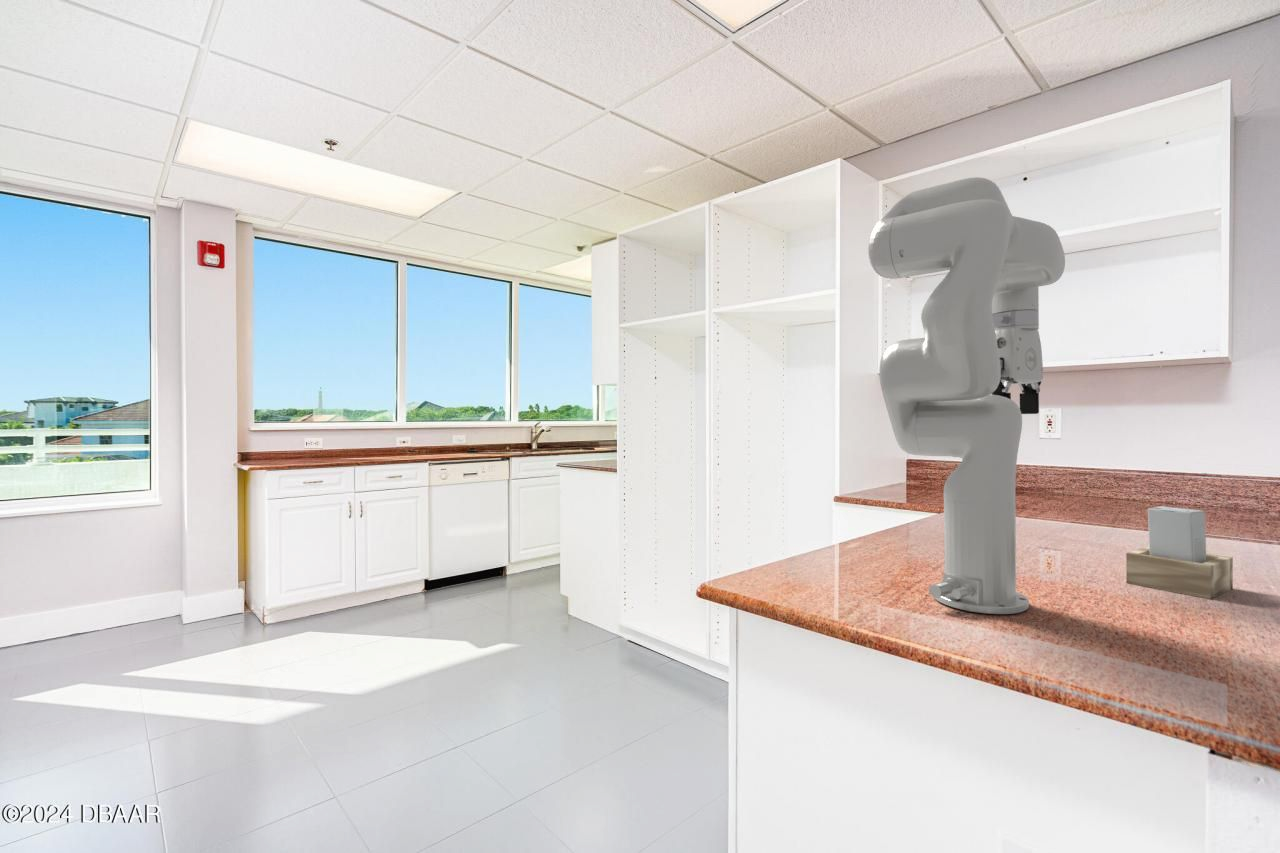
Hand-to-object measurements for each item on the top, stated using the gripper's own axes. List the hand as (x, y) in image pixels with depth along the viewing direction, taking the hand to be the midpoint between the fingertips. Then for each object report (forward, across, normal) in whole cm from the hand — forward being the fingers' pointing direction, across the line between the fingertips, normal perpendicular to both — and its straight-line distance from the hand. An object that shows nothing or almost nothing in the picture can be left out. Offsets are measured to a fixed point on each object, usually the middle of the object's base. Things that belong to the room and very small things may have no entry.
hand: (1015, 414), depth 113 cm
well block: (+28, +6, -22) cm, 36 cm away
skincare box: (+28, +6, -22) cm, 36 cm away
